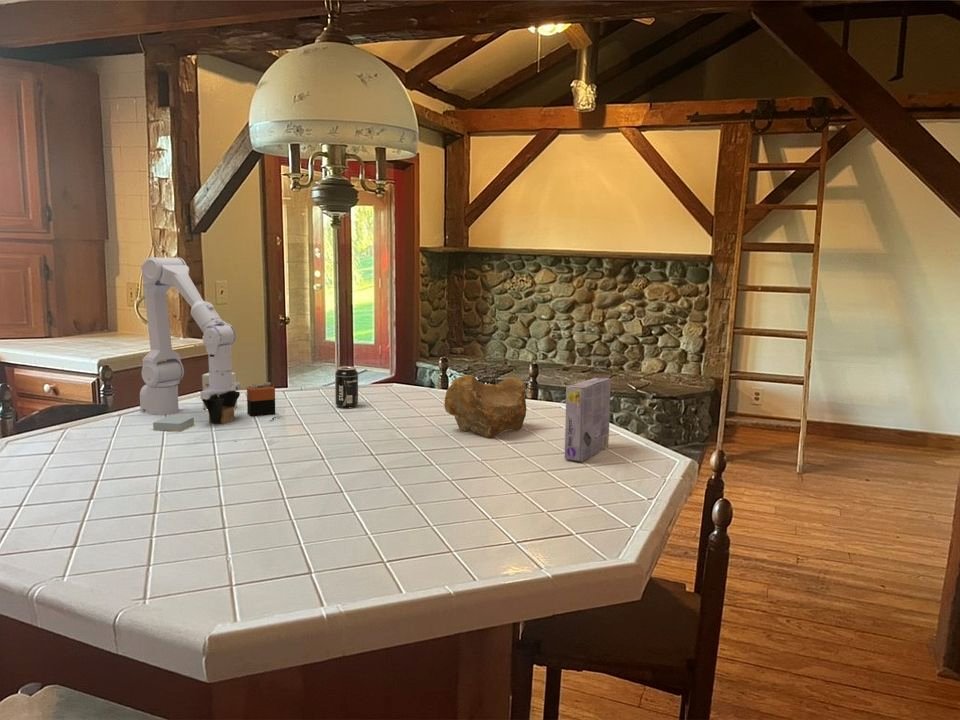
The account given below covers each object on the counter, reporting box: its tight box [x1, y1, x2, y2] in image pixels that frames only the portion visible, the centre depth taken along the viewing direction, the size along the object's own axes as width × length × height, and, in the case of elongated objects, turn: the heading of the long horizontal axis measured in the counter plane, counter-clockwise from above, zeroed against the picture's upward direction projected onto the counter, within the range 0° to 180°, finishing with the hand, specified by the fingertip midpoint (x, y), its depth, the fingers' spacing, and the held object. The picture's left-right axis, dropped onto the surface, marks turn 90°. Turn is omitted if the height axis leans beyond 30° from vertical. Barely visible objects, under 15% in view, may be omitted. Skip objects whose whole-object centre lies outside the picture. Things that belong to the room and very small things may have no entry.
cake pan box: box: [564, 377, 612, 463], centre depth 170 cm, size 19×5×18 cm, turn 149°
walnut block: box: [208, 406, 235, 425], centre depth 188 cm, size 4×4×5 cm
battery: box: [246, 382, 276, 420], centre depth 196 cm, size 4×7×10 cm, turn 122°
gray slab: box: [152, 415, 195, 433], centre depth 180 cm, size 7×7×2 cm
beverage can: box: [334, 365, 359, 409], centre depth 215 cm, size 7×7×12 cm
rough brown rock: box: [444, 374, 527, 439], centre depth 188 cm, size 23×17×15 cm
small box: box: [201, 372, 238, 410], centre depth 208 cm, size 8×6×10 cm
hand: (221, 420), depth 188 cm, fingers closed on walnut block, 4 cm apart
